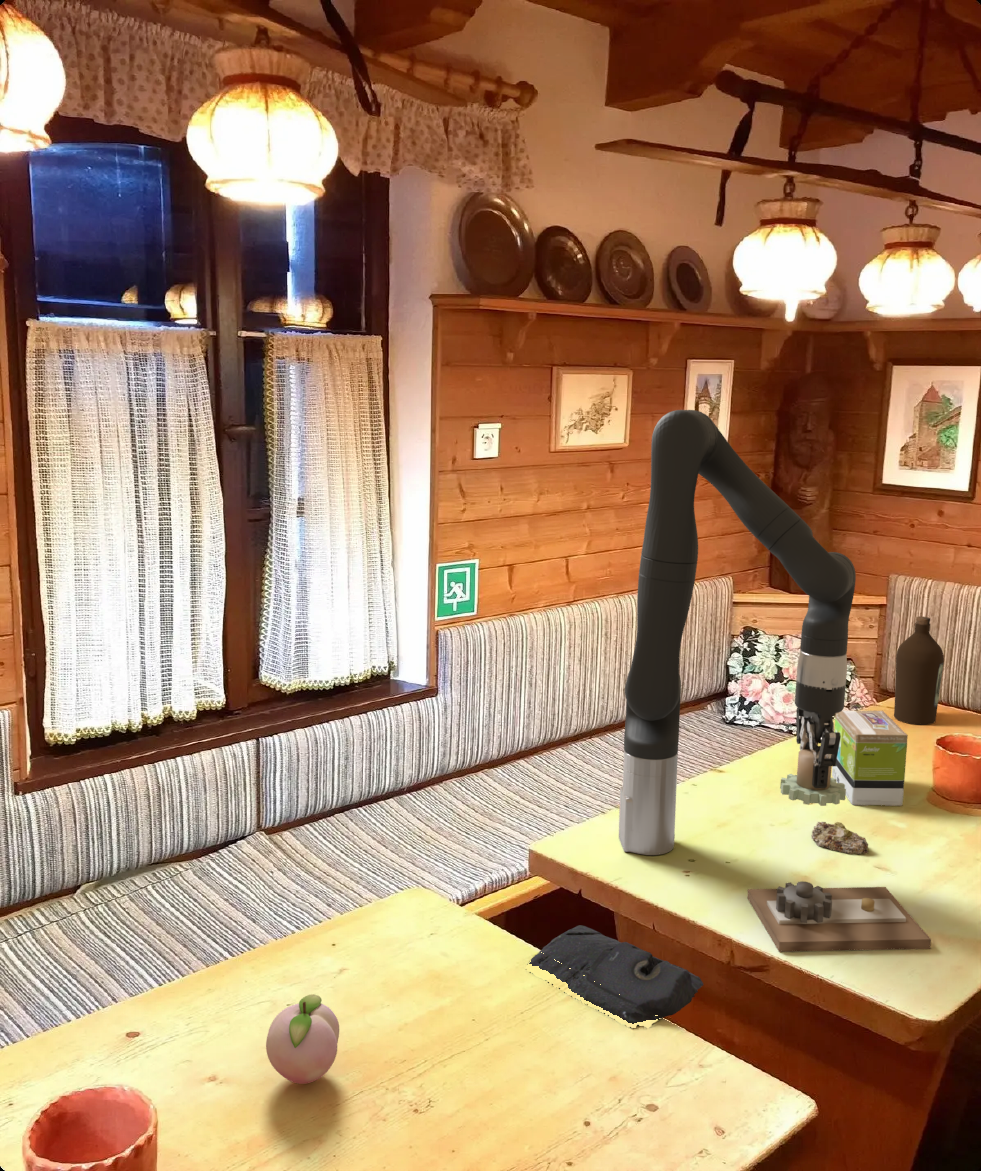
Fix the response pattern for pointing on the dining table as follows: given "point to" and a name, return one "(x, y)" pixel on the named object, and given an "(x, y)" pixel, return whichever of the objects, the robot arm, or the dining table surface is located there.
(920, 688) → the olive oil
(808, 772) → the planet gear
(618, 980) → the dark slate chunk
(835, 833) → the mineral rock
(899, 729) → the tea box
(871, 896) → the carrier board
